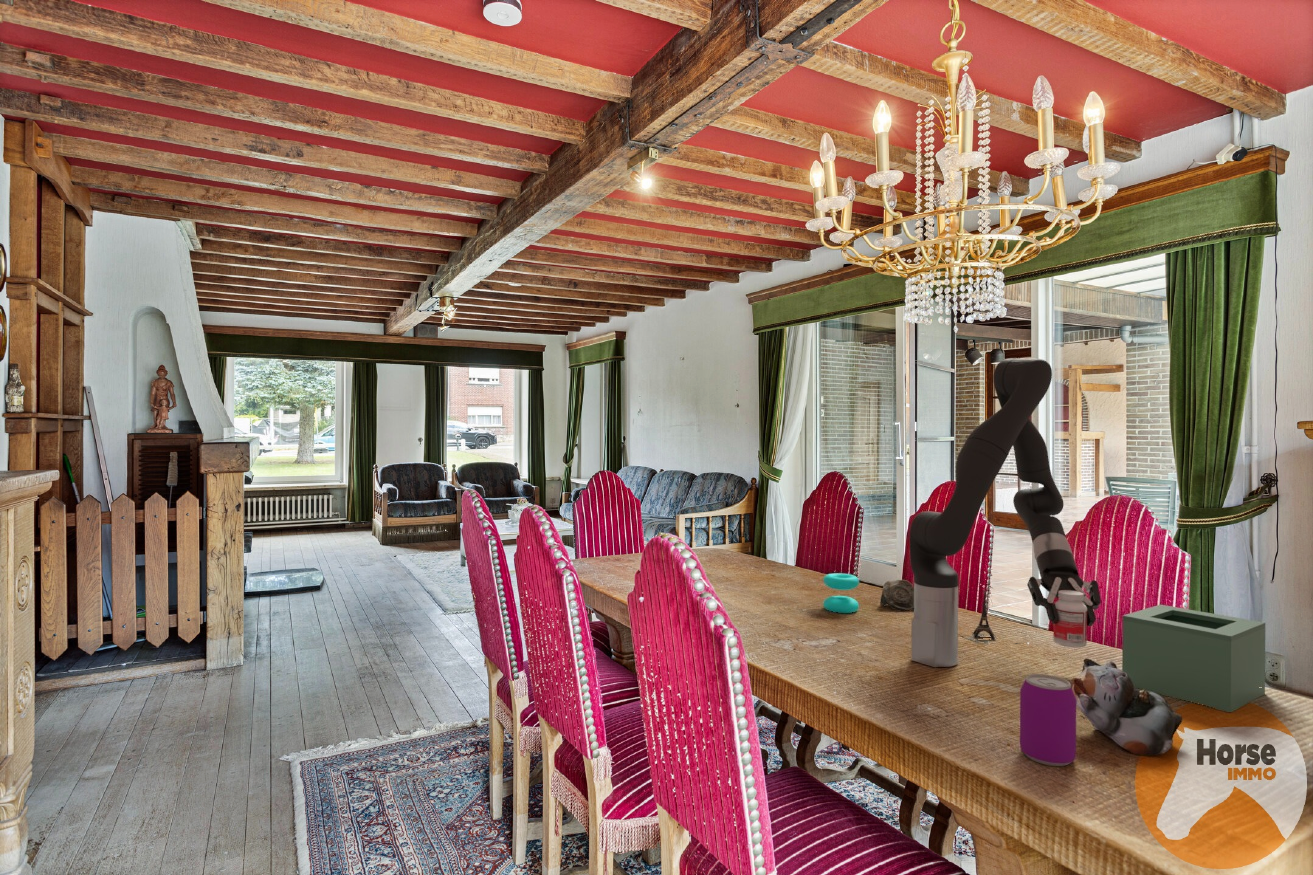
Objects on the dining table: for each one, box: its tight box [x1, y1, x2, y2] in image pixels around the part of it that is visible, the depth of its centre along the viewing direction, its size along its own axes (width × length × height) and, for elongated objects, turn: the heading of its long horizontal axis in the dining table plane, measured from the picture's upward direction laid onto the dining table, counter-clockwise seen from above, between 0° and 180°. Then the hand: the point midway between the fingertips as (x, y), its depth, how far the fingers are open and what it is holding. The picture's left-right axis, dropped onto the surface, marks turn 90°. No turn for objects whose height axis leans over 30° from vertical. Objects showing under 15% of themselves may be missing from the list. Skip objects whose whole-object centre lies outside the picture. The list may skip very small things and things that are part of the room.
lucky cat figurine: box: [1071, 658, 1183, 757], centre depth 119 cm, size 15×12×14 cm
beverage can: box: [1019, 673, 1077, 767], centre depth 111 cm, size 8×8×12 cm
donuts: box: [822, 572, 860, 614], centre depth 206 cm, size 10×10×10 cm
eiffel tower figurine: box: [963, 585, 999, 645], centre depth 179 cm, size 15×10×13 cm
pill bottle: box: [1052, 590, 1088, 649], centre depth 152 cm, size 6×6×11 cm
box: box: [1121, 604, 1266, 713], centre depth 143 cm, size 18×18×14 cm
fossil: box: [879, 579, 914, 612], centre depth 211 cm, size 11×9×10 cm
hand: (1073, 622), depth 150 cm, fingers closed on pill bottle, 6 cm apart
